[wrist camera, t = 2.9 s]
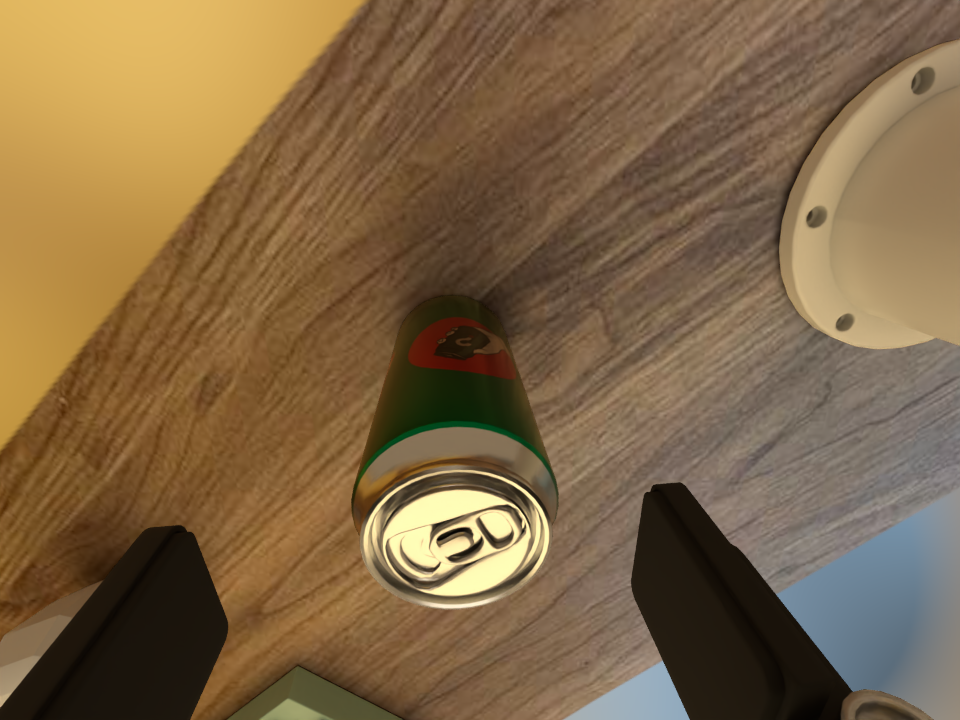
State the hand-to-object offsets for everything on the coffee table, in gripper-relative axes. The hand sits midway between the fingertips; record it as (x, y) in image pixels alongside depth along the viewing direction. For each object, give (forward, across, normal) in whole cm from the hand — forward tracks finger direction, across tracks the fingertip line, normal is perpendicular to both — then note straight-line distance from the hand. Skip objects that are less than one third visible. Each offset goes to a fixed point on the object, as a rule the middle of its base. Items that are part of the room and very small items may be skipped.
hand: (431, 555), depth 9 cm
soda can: (+13, -1, 0) cm, 13 cm away
